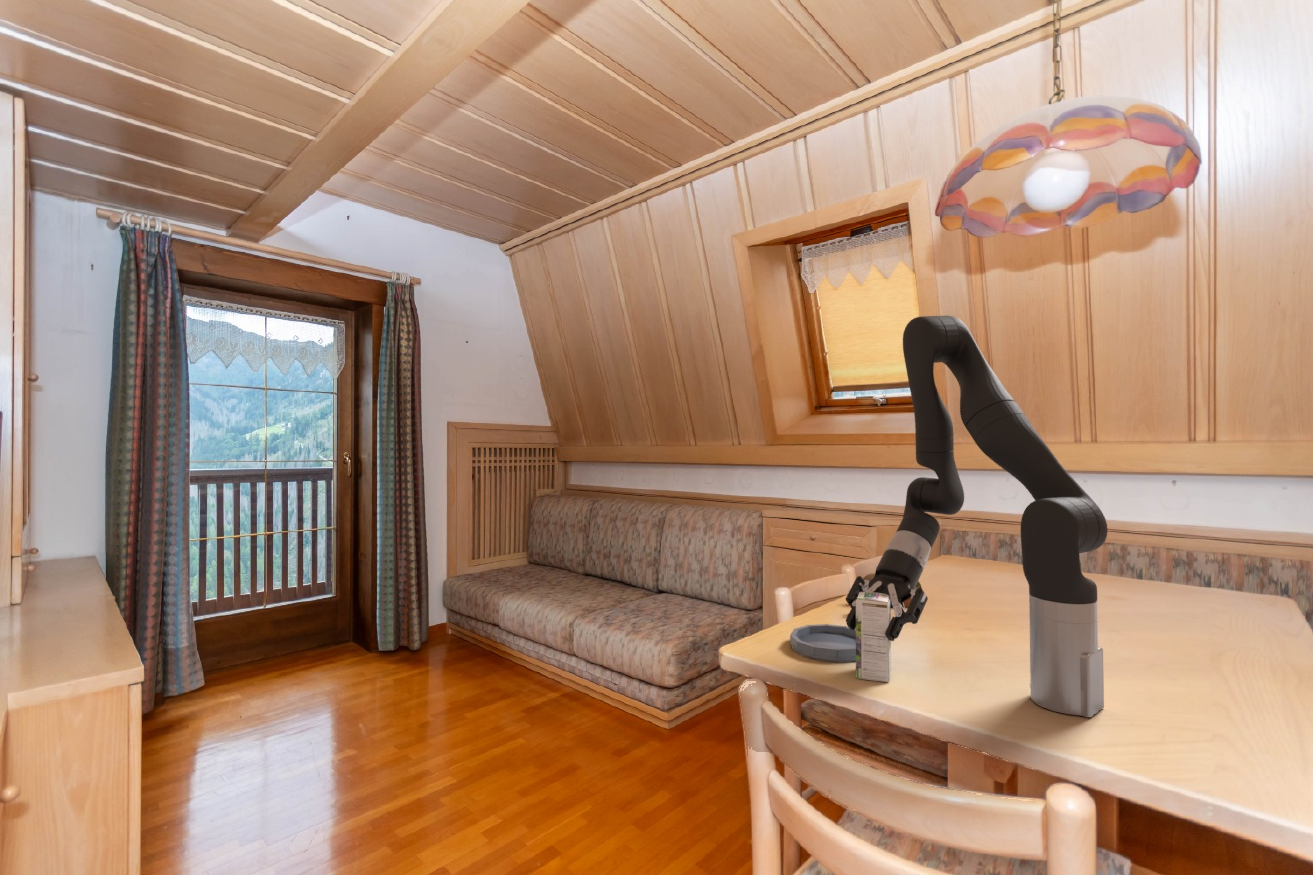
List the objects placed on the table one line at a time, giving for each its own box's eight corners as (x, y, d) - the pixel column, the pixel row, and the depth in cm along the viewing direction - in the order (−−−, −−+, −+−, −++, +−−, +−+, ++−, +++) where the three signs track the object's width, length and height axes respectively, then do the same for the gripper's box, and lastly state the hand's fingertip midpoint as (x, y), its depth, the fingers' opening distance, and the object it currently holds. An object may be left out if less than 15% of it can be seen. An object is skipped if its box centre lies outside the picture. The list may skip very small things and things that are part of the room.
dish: (888, 649, 126) (888, 637, 126) (839, 668, 116) (839, 655, 116) (824, 631, 139) (824, 619, 139) (775, 646, 129) (775, 634, 129)
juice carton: (858, 667, 117) (857, 590, 117) (892, 672, 114) (890, 593, 114) (855, 678, 111) (854, 598, 111) (890, 683, 109) (889, 600, 109)
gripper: (862, 543, 123) (826, 612, 116) (932, 553, 112) (896, 630, 105) (878, 566, 126) (844, 634, 119) (947, 578, 115) (914, 654, 108)
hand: (869, 632), depth 112 cm, fingers closed on juice carton, 7 cm apart
